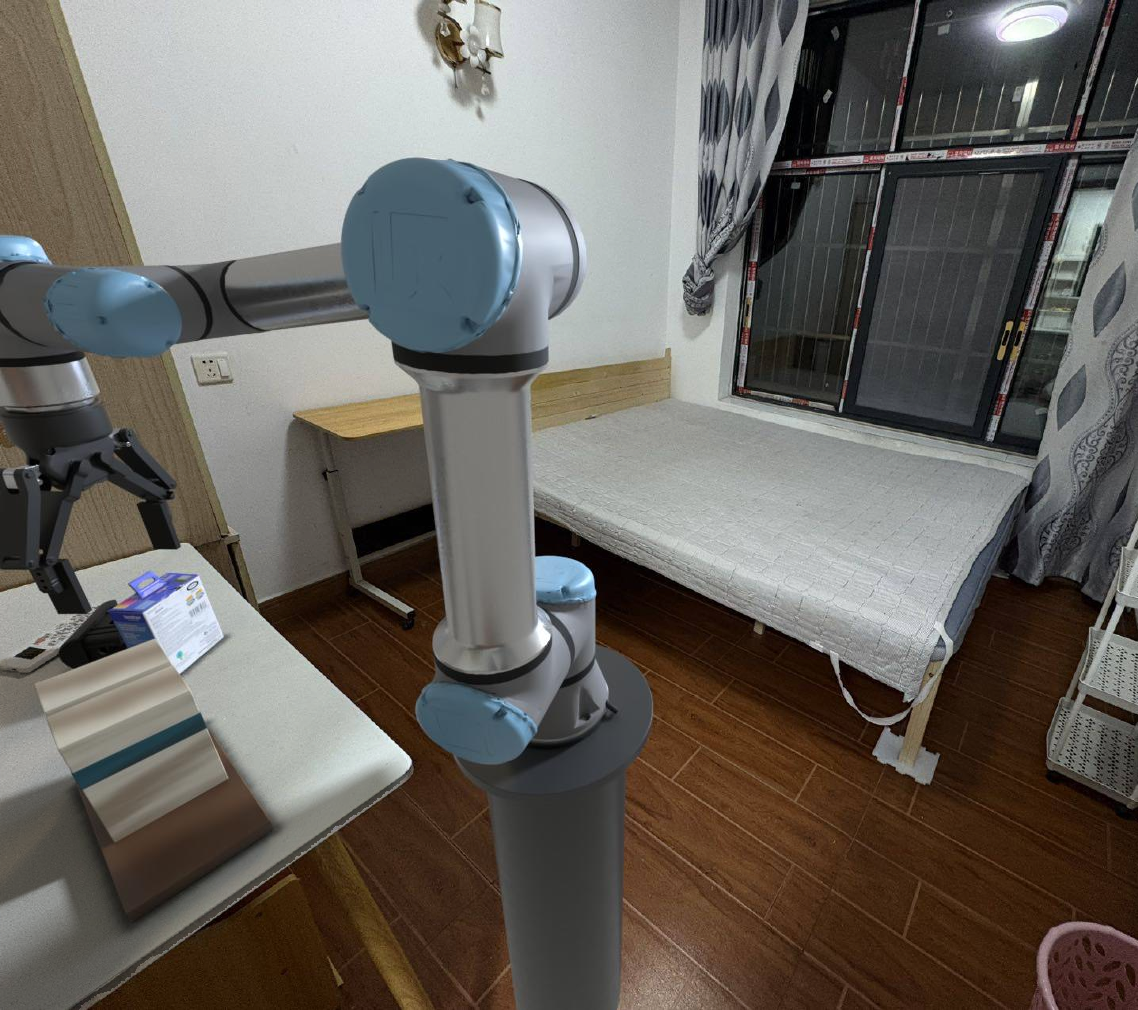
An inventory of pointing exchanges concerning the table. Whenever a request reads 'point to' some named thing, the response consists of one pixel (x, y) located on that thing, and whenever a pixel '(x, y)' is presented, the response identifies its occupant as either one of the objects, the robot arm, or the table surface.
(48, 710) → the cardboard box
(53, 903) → the table surface
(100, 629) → the end cap
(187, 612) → the ink cartridge box
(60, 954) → the table surface
